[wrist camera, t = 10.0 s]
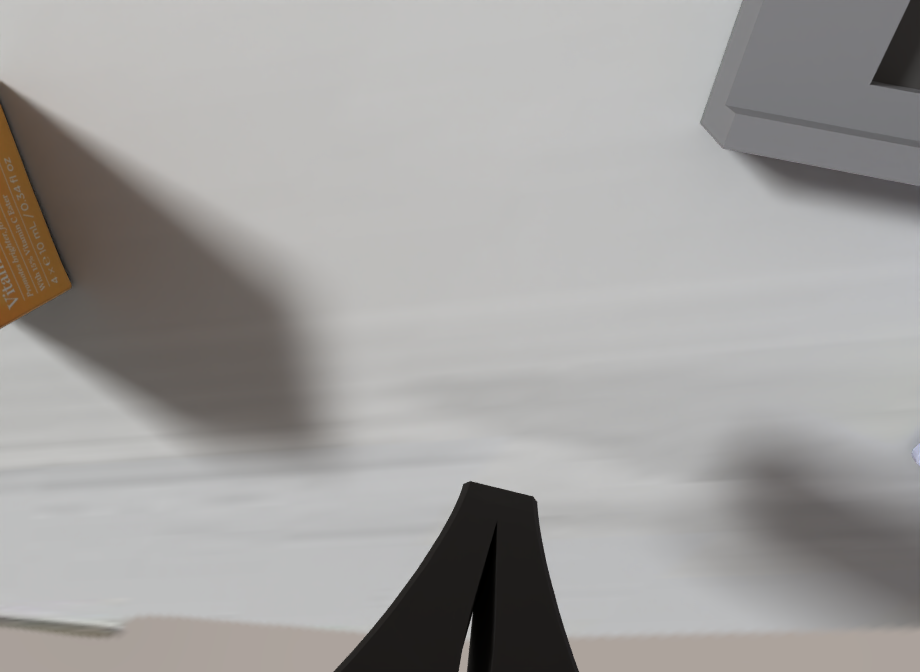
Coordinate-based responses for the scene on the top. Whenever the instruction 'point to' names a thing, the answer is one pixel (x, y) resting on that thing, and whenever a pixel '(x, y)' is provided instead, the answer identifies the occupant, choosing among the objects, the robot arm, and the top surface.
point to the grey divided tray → (823, 85)
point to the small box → (23, 240)
